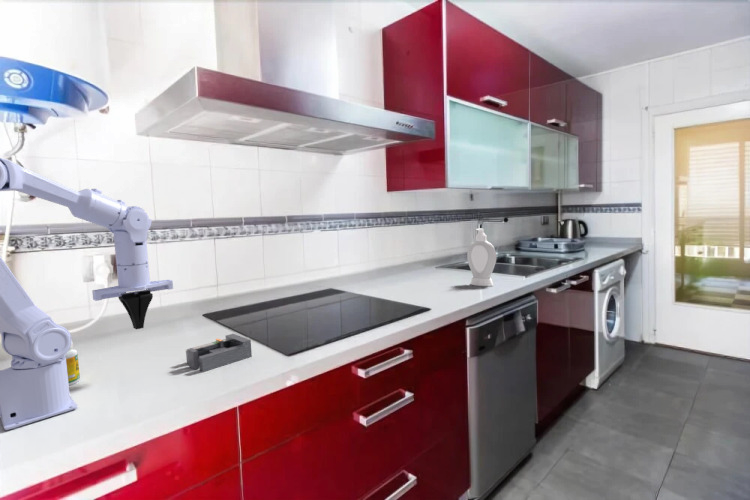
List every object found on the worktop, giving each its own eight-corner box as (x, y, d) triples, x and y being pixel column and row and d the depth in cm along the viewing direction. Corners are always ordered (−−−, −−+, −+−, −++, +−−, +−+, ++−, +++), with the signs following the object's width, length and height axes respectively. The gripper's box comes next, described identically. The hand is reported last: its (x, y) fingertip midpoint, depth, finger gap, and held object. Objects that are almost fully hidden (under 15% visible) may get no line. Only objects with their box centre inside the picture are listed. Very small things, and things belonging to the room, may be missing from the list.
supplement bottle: (49, 384, 81) (44, 344, 81) (77, 376, 85) (73, 338, 84) (53, 390, 78) (49, 348, 77) (82, 382, 82) (78, 342, 81)
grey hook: (195, 370, 86) (194, 352, 85) (183, 363, 90) (182, 346, 90) (232, 358, 92) (231, 342, 91) (220, 353, 96) (218, 337, 96)
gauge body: (202, 372, 85) (201, 353, 84) (186, 363, 90) (185, 346, 90) (251, 356, 93) (250, 339, 93) (234, 349, 99) (233, 333, 98)
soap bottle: (462, 285, 171) (461, 228, 169) (469, 282, 177) (469, 228, 175) (492, 288, 163) (491, 228, 161) (498, 285, 169) (498, 227, 167)
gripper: (96, 270, 75) (103, 340, 77) (176, 261, 86) (181, 323, 87) (87, 267, 80) (94, 333, 81) (164, 259, 91) (169, 318, 92)
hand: (138, 327), depth 85 cm, fingers closed
